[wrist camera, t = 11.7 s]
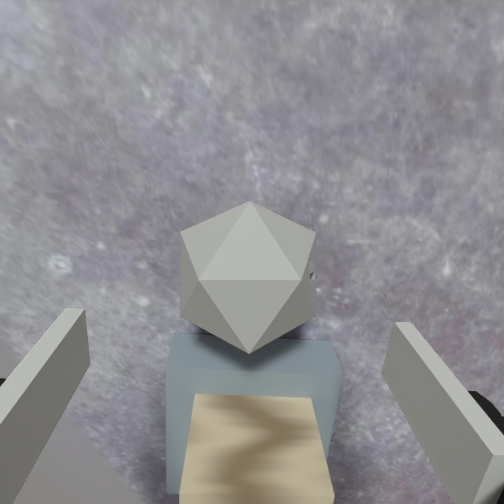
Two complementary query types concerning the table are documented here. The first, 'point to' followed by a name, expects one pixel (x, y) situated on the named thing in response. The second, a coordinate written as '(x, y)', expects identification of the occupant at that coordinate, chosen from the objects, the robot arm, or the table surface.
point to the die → (248, 276)
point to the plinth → (245, 383)
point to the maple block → (254, 452)
